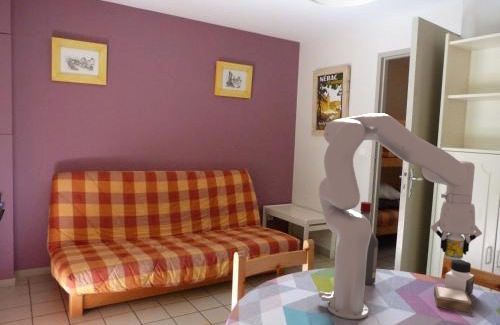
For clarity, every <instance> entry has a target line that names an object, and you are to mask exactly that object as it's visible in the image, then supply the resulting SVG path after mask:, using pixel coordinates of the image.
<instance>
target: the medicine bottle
mask: <svg viewBox="0 0 500 325" xmlns="http://www.w3.org/2000/svg"><path fill="white" fill-rule="evenodd" d="M450 263H451V264H450V271H448V272H446V273H445V281H444V288H449V289H455V290H461V291H466V292H467V294H468V296H469V297H470V296H472V295H473V294H474V293H473V291H474V282H475V275H474V274H472V273H471V266H472V265H471V262H469V261H467V260H466V259H463V258H462V259H461V260H454V259H451V262H450Z"/></svg>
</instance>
